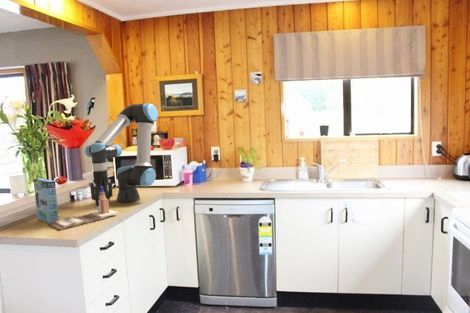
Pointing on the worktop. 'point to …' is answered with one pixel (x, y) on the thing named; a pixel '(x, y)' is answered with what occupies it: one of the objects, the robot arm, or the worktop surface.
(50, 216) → the blue cereal box
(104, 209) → the pink block on base
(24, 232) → the worktop surface
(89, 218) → the board
